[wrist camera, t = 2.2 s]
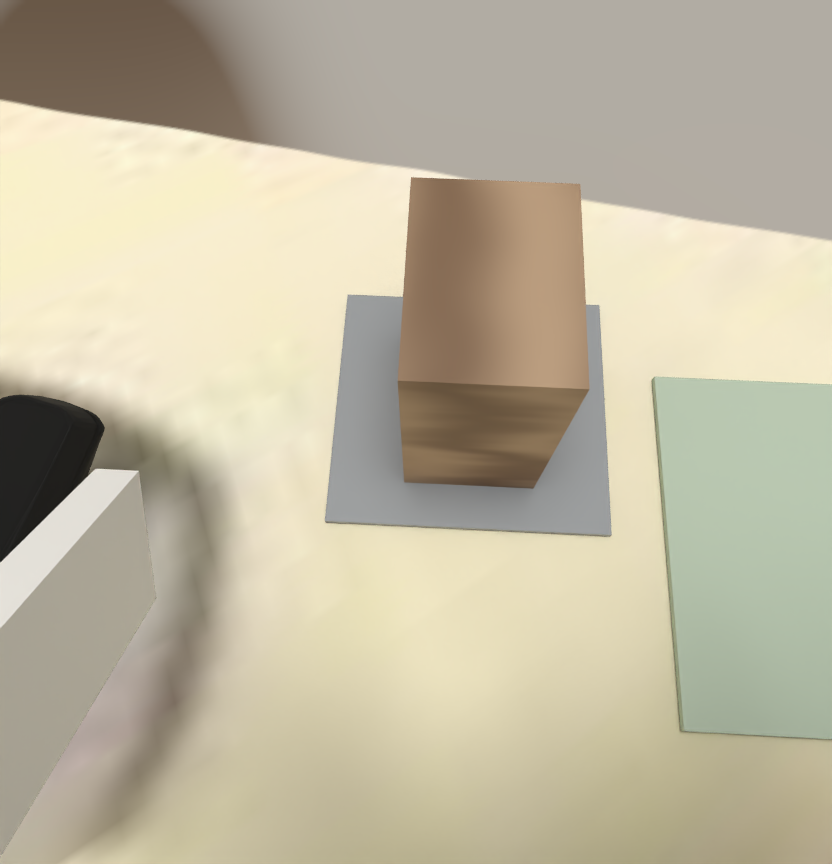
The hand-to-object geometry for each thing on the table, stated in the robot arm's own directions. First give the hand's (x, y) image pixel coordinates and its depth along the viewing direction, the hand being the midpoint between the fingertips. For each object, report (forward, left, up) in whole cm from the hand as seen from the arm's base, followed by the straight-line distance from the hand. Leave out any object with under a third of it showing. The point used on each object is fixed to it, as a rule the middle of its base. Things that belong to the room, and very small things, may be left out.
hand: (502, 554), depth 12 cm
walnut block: (-1, -11, -18) cm, 21 cm away
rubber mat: (-17, -5, -18) cm, 25 cm away
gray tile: (-1, -11, -18) cm, 21 cm away
